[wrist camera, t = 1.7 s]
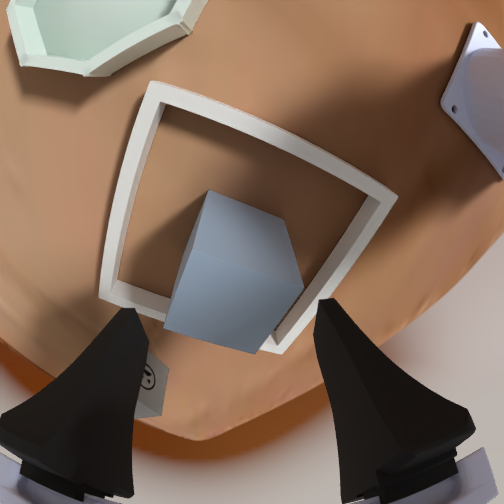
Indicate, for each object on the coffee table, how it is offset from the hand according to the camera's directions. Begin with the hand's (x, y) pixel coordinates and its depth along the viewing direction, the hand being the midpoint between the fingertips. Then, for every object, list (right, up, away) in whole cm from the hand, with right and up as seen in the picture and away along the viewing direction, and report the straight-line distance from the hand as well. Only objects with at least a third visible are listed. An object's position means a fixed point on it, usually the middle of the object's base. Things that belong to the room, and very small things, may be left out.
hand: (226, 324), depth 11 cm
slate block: (0, +4, +6) cm, 7 cm away
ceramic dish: (-6, +17, -3) cm, 18 cm away
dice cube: (-10, -7, +12) cm, 17 cm away
